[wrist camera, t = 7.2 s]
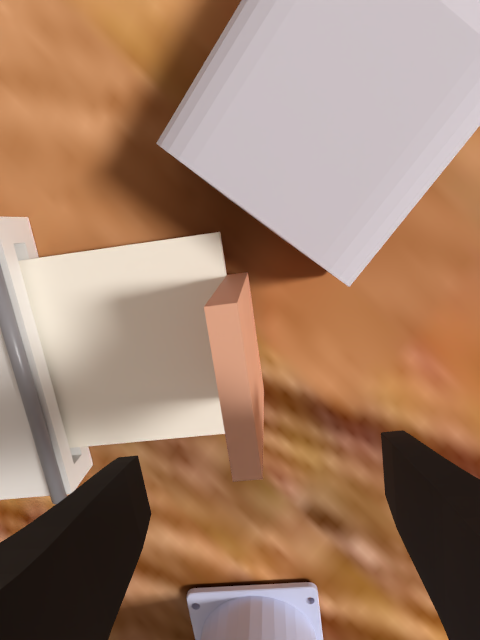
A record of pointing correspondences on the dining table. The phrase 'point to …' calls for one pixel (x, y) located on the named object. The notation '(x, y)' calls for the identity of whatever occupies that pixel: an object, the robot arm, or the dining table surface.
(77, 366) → the cream boxy piece
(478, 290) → the dining table surface
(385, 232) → the charger
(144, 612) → the dining table surface
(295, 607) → the robot arm
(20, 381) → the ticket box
